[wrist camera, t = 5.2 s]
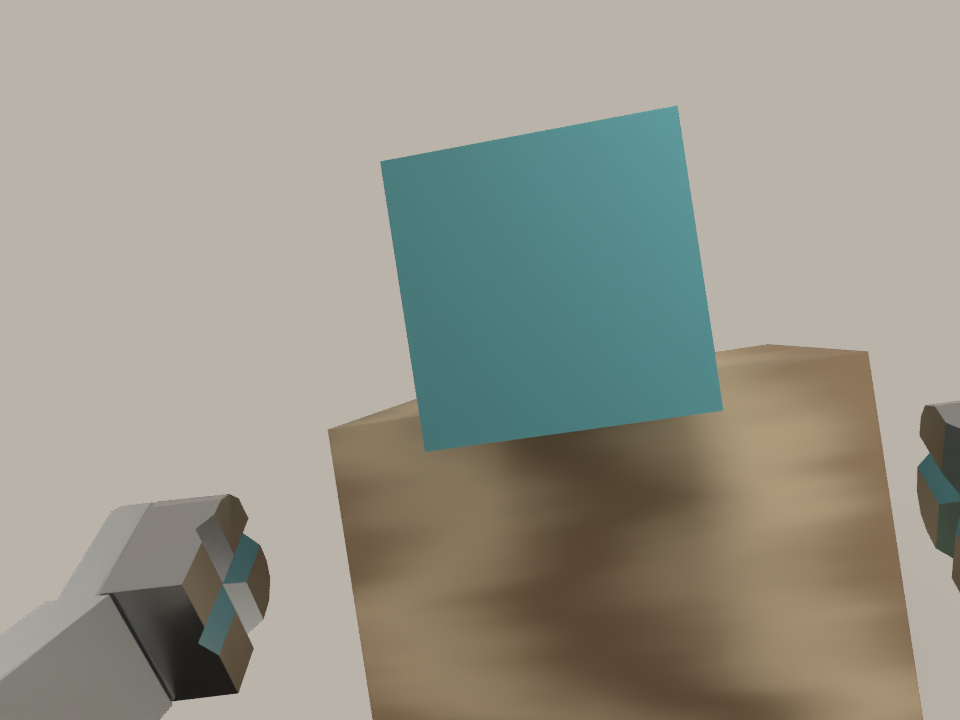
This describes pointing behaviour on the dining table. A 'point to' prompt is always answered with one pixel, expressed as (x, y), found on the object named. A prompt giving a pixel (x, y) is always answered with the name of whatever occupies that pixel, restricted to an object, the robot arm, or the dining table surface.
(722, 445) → the oak stand
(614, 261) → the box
